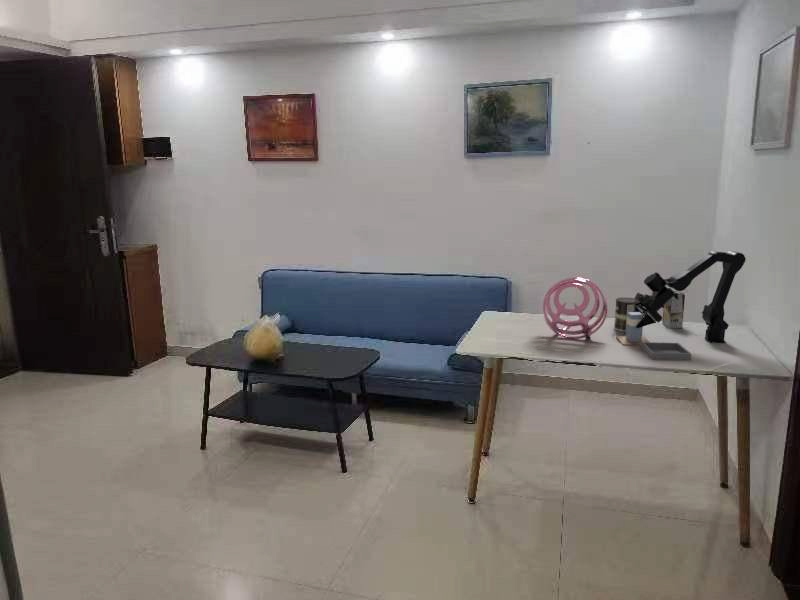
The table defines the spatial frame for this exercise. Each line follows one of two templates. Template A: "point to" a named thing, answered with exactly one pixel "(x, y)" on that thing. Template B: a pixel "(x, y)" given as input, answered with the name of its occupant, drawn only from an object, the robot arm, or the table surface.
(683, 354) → the tray
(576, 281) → the spiral basket
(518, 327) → the table surface
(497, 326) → the table surface
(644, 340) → the pad
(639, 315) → the carton
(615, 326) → the coffee can
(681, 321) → the coffee box
